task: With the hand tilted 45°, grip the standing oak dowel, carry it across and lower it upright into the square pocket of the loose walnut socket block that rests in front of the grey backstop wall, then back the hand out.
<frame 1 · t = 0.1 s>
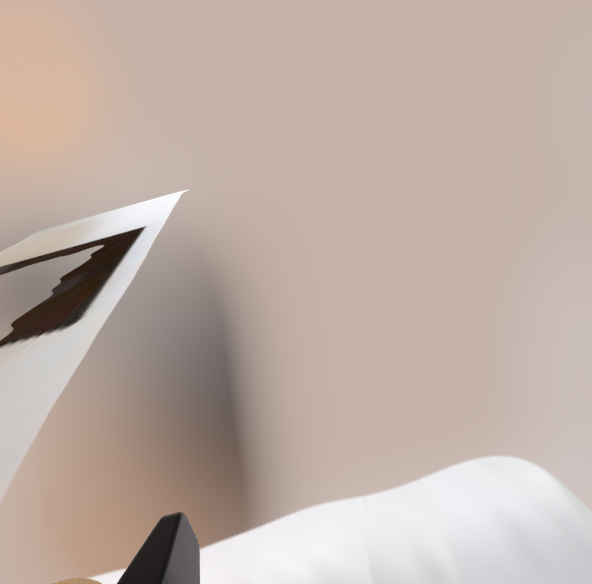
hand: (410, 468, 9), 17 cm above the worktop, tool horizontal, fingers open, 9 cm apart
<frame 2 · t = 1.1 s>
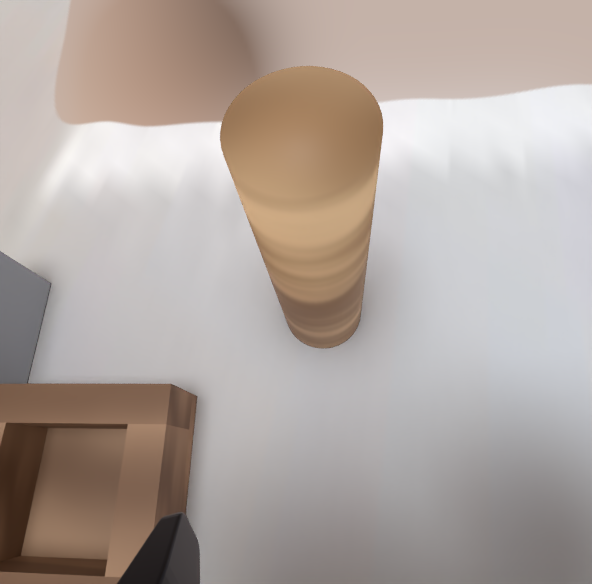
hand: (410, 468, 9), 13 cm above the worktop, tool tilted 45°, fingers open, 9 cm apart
dowel: (323, 311, 24), on the worktop
socket block: (101, 489, 22), on the worktop
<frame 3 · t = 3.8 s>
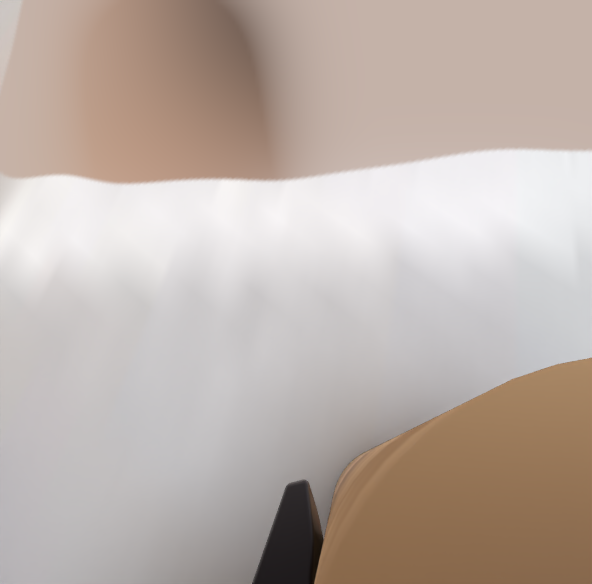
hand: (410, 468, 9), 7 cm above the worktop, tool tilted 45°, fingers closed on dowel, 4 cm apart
dowel: (392, 510, 15), on the worktop, touching gripper
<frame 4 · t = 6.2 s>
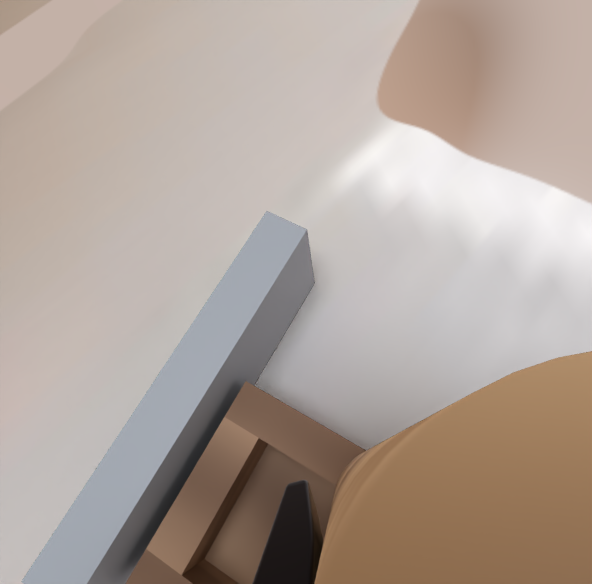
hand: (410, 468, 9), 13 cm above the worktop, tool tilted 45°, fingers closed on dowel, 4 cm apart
dowel: (393, 509, 15), point 6 cm above the worktop, touching gripper
backstop wall: (220, 404, 22), on the worktop
socket block: (293, 529, 20), on the worktop
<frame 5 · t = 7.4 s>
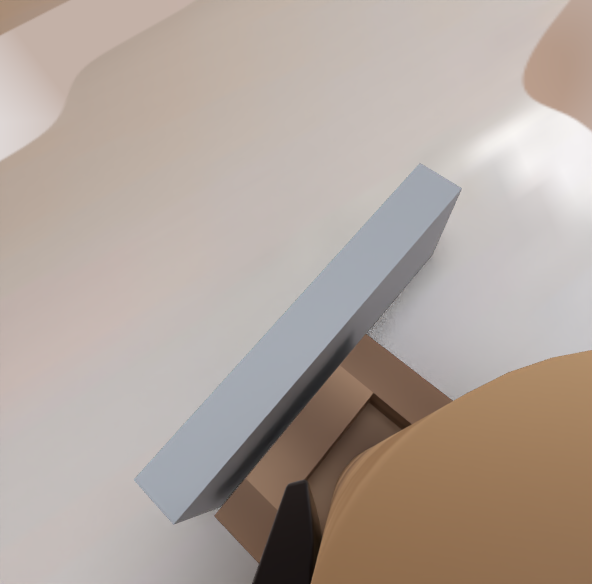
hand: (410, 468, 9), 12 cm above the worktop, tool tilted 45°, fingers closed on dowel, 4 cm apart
dowel: (392, 509, 15), point 5 cm above the worktop, touching gripper
backstop wall: (319, 357, 22), on the worktop
socket block: (379, 496, 20), on the worktop
when the fingers open (9 cm above the worktop, at t = 8.5 s): dowel drops 1 cm, resting on socket block.
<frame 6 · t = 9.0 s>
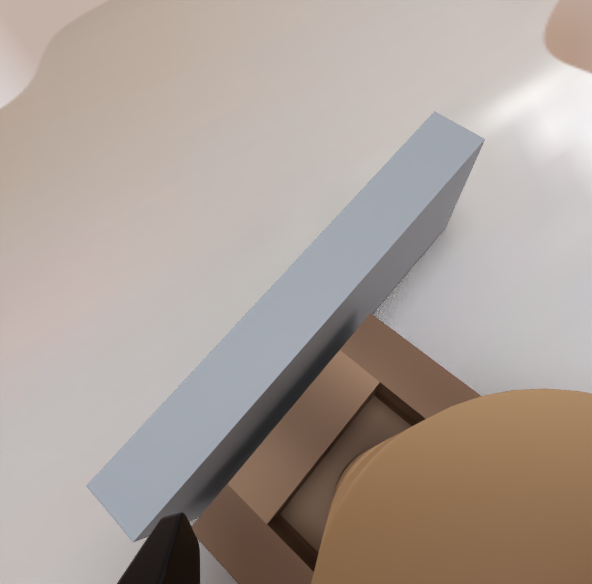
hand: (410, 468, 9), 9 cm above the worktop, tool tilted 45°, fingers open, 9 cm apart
dowel: (388, 506, 16), point 1 cm above the worktop, touching socket block
backstop wall: (316, 344, 19), on the worktop
socket block: (385, 504, 17), on the worktop, touching dowel
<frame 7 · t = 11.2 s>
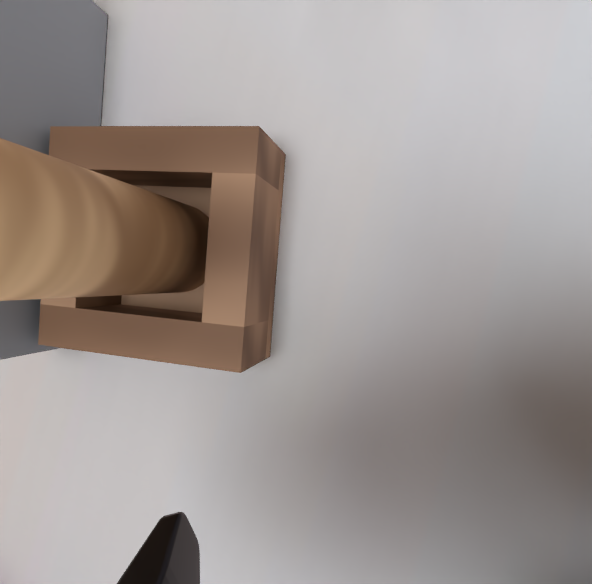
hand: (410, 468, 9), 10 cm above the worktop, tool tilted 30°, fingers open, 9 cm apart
dowel: (178, 248, 20), point 1 cm above the worktop, touching socket block
backstop wall: (79, 180, 22), on the worktop
socket block: (189, 250, 21), on the worktop, touching dowel
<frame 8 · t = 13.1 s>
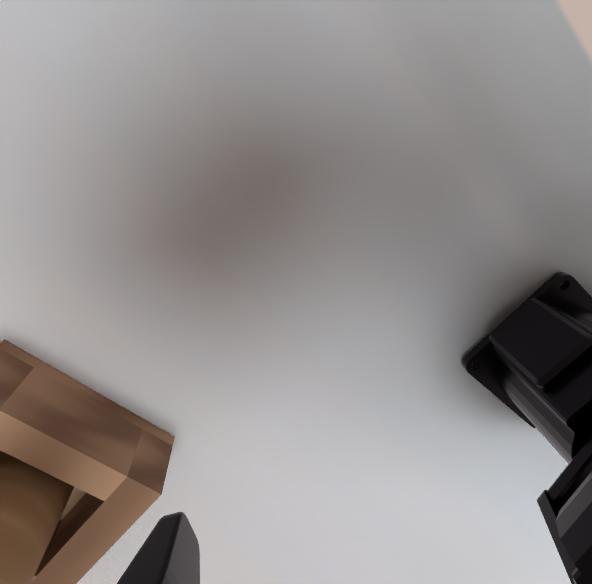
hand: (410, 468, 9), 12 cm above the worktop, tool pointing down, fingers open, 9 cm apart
dowel: (39, 461, 21), point 1 cm above the worktop, touching socket block
socket block: (48, 446, 22), on the worktop, touching dowel
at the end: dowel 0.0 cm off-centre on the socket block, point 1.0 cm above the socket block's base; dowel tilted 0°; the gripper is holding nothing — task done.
